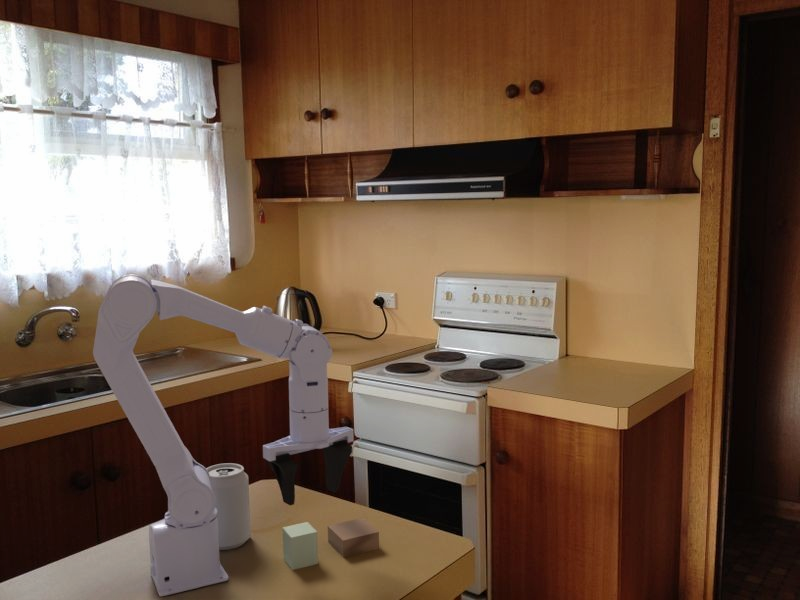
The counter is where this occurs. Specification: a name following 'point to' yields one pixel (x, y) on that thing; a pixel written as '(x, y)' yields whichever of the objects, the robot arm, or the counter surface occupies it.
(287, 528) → the green block
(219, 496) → the can
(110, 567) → the counter surface
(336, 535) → the walnut slab
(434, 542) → the counter surface
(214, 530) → the robot arm
